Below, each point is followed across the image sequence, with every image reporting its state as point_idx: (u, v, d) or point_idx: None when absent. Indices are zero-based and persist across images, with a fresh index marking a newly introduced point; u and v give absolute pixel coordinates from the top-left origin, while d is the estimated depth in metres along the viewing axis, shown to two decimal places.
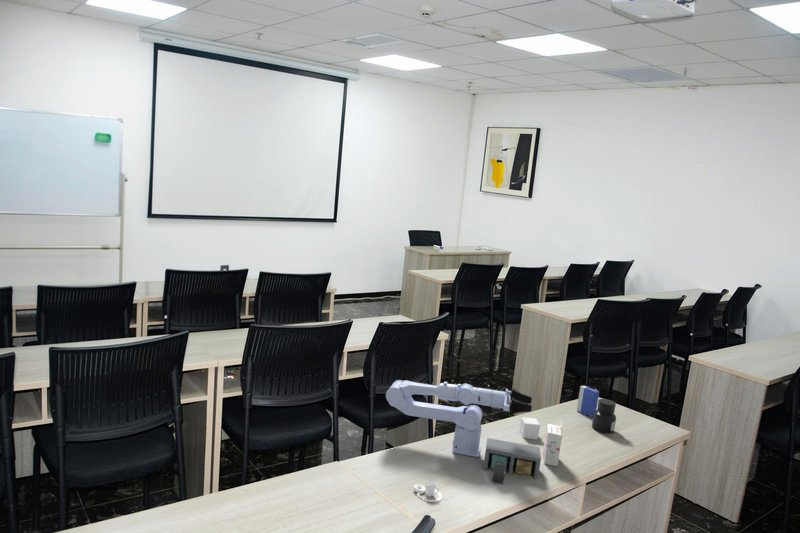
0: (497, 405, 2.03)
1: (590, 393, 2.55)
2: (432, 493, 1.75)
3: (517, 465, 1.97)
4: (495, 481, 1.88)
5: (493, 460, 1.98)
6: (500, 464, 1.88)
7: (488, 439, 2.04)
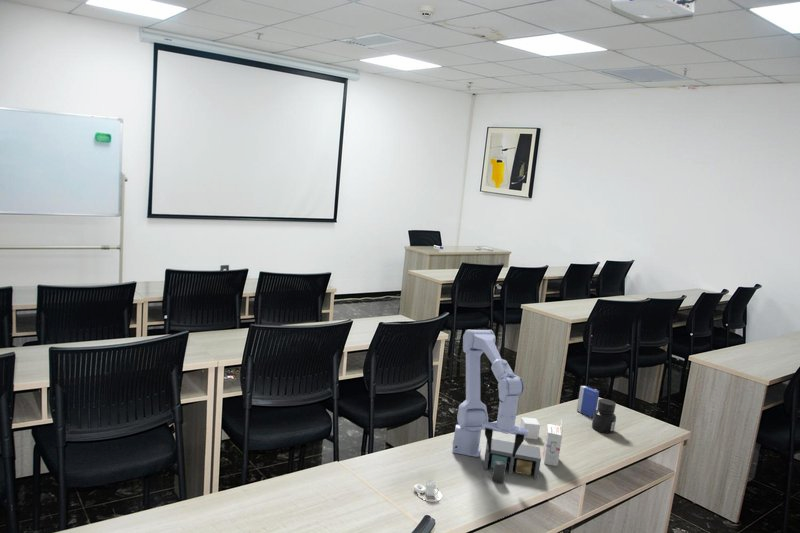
0: None
1: (590, 393, 2.55)
2: (432, 493, 1.76)
3: (517, 465, 1.97)
4: (495, 481, 1.88)
5: (493, 460, 1.98)
6: (500, 464, 1.88)
7: None
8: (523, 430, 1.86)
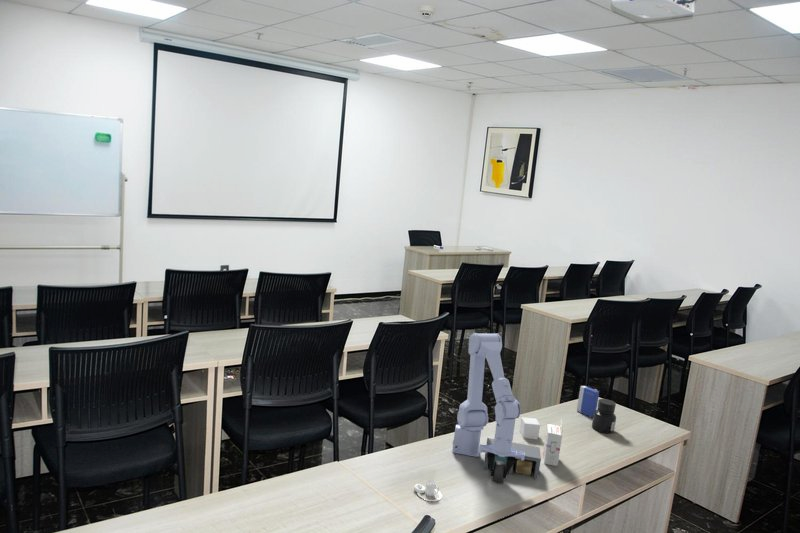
0: None
1: (590, 393, 2.55)
2: (432, 493, 1.76)
3: (517, 465, 1.97)
4: (495, 481, 1.88)
5: None
6: (500, 464, 1.88)
7: (488, 439, 2.04)
8: (520, 453, 1.87)
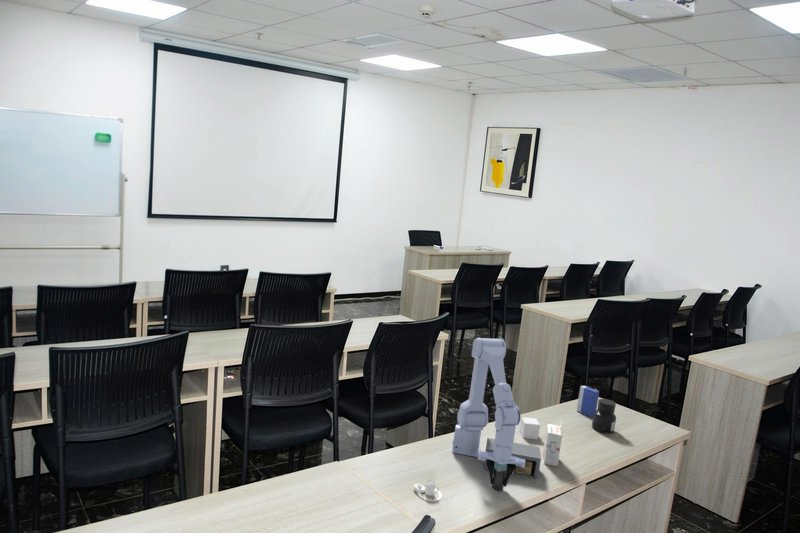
0: None
1: (590, 393, 2.55)
2: (432, 492, 1.76)
3: None
4: (495, 488, 1.84)
5: None
6: (500, 471, 1.84)
7: (488, 439, 2.04)
8: (520, 460, 1.82)
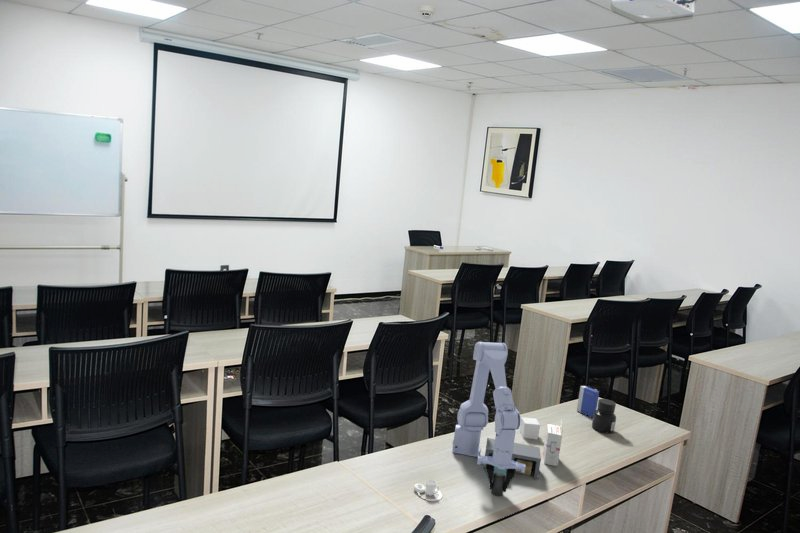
0: None
1: (590, 393, 2.55)
2: (432, 492, 1.76)
3: None
4: (494, 493, 1.81)
5: None
6: (500, 476, 1.81)
7: (488, 439, 2.04)
8: (520, 465, 1.79)
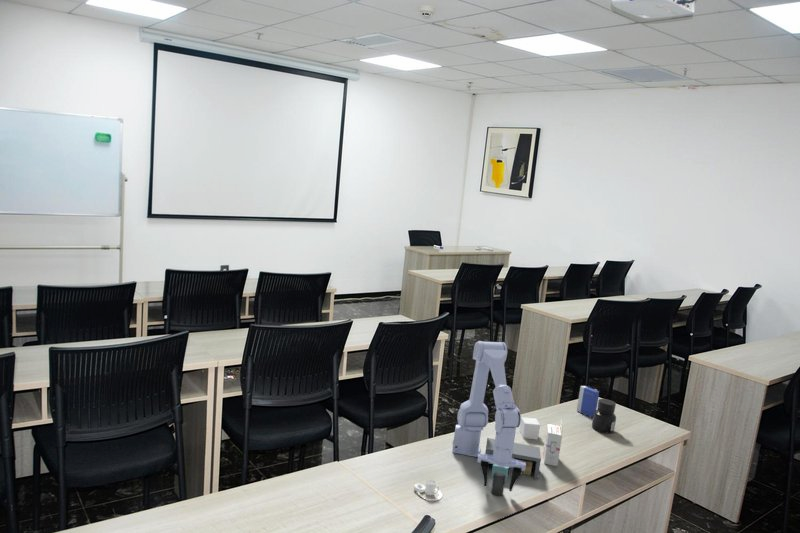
0: None
1: (590, 393, 2.55)
2: (432, 492, 1.76)
3: None
4: (494, 493, 1.81)
5: (493, 471, 1.91)
6: (500, 476, 1.81)
7: (488, 439, 2.04)
8: (520, 463, 1.79)
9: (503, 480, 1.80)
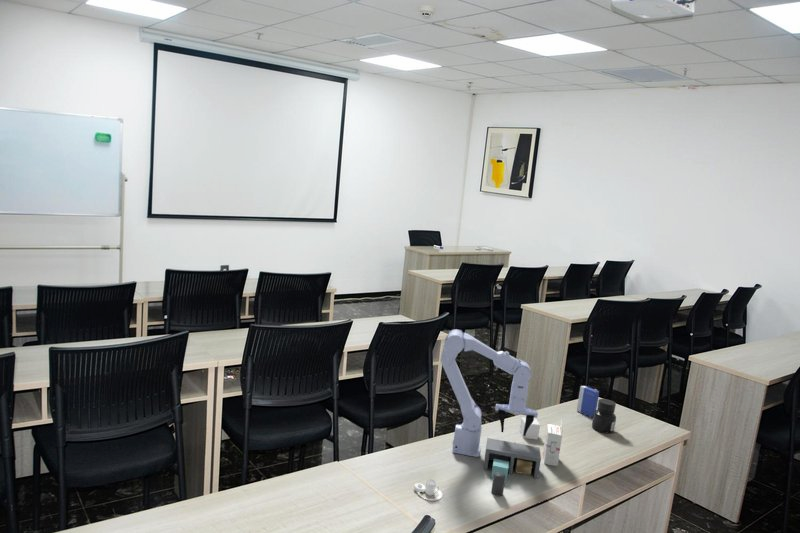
0: None
1: (590, 393, 2.55)
2: (432, 492, 1.76)
3: (517, 465, 1.97)
4: (494, 493, 1.81)
5: (493, 471, 1.91)
6: (500, 476, 1.81)
7: (488, 439, 2.04)
8: (533, 411, 2.04)
9: (503, 480, 1.80)
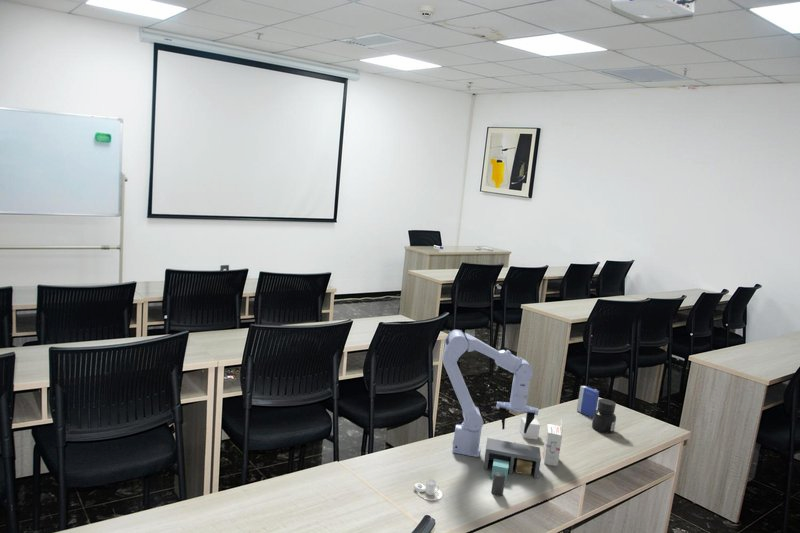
0: None
1: (590, 393, 2.55)
2: (432, 492, 1.76)
3: (517, 465, 1.97)
4: (494, 493, 1.81)
5: (493, 471, 1.91)
6: (500, 476, 1.81)
7: (488, 439, 2.04)
8: (534, 409, 2.06)
9: (503, 480, 1.80)
